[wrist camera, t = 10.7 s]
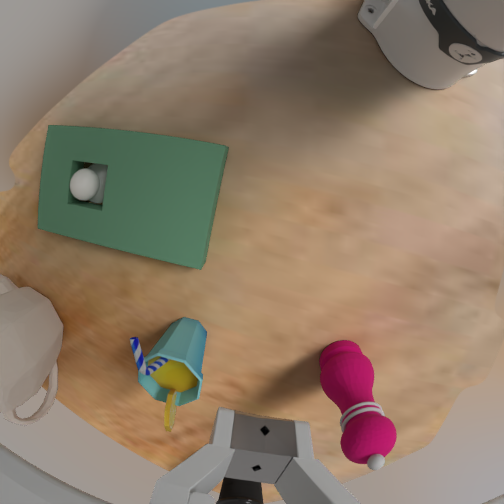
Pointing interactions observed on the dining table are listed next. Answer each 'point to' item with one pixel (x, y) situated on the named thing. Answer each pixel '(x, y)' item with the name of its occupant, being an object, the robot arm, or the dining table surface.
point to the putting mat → (133, 191)
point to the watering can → (27, 349)
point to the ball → (84, 184)
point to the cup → (173, 366)
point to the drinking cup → (240, 492)
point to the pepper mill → (356, 404)
